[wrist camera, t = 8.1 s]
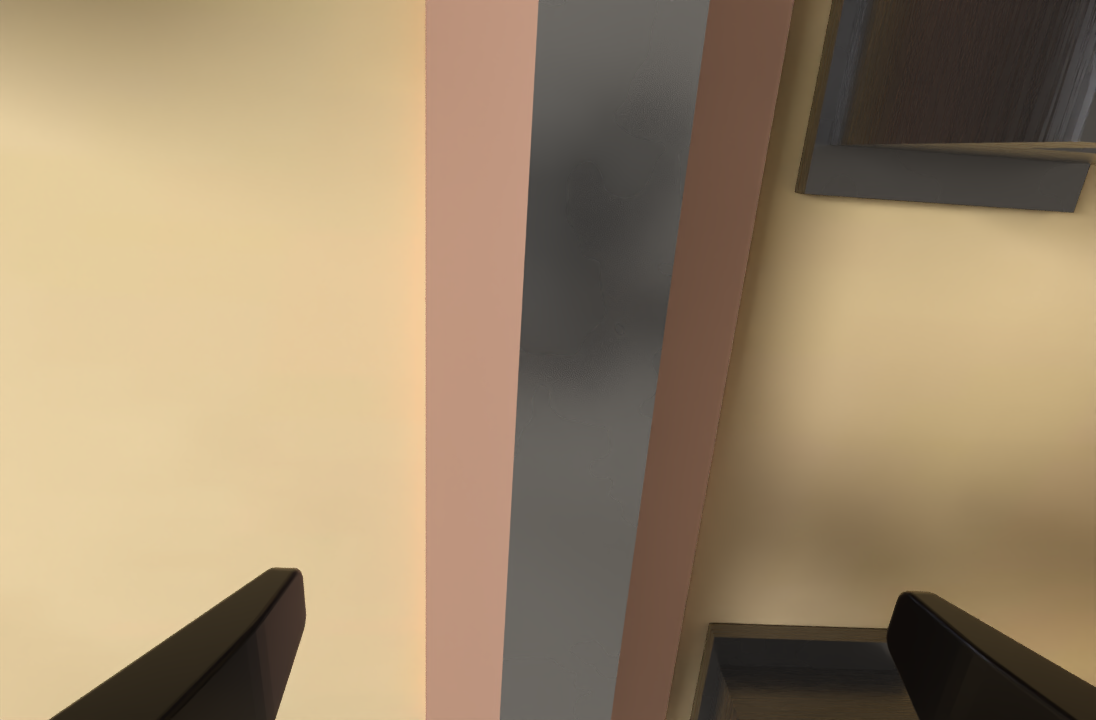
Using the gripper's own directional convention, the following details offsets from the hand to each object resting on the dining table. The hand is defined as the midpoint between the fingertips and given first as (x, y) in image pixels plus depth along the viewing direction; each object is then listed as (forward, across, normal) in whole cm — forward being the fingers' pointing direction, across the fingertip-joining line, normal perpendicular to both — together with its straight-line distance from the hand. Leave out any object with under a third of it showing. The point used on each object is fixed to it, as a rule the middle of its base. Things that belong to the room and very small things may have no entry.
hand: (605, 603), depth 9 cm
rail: (+6, 0, 0) cm, 6 cm away
